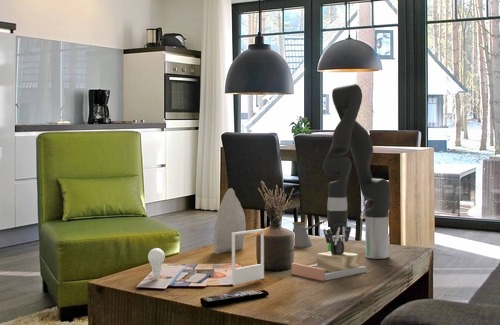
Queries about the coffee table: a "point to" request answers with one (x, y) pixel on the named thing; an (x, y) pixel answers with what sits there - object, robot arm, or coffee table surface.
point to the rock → (229, 224)
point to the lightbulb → (156, 260)
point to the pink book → (323, 272)
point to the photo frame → (249, 271)
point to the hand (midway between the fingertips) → (337, 253)
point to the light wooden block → (337, 260)
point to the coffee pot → (303, 234)
